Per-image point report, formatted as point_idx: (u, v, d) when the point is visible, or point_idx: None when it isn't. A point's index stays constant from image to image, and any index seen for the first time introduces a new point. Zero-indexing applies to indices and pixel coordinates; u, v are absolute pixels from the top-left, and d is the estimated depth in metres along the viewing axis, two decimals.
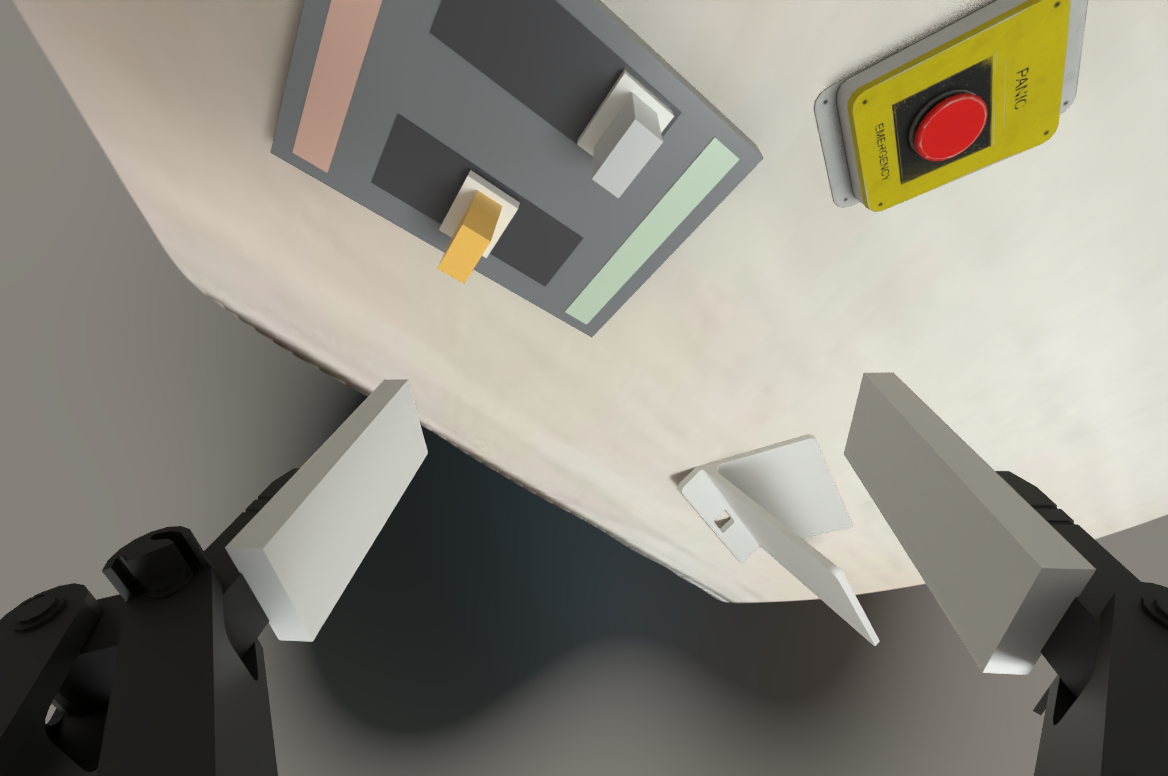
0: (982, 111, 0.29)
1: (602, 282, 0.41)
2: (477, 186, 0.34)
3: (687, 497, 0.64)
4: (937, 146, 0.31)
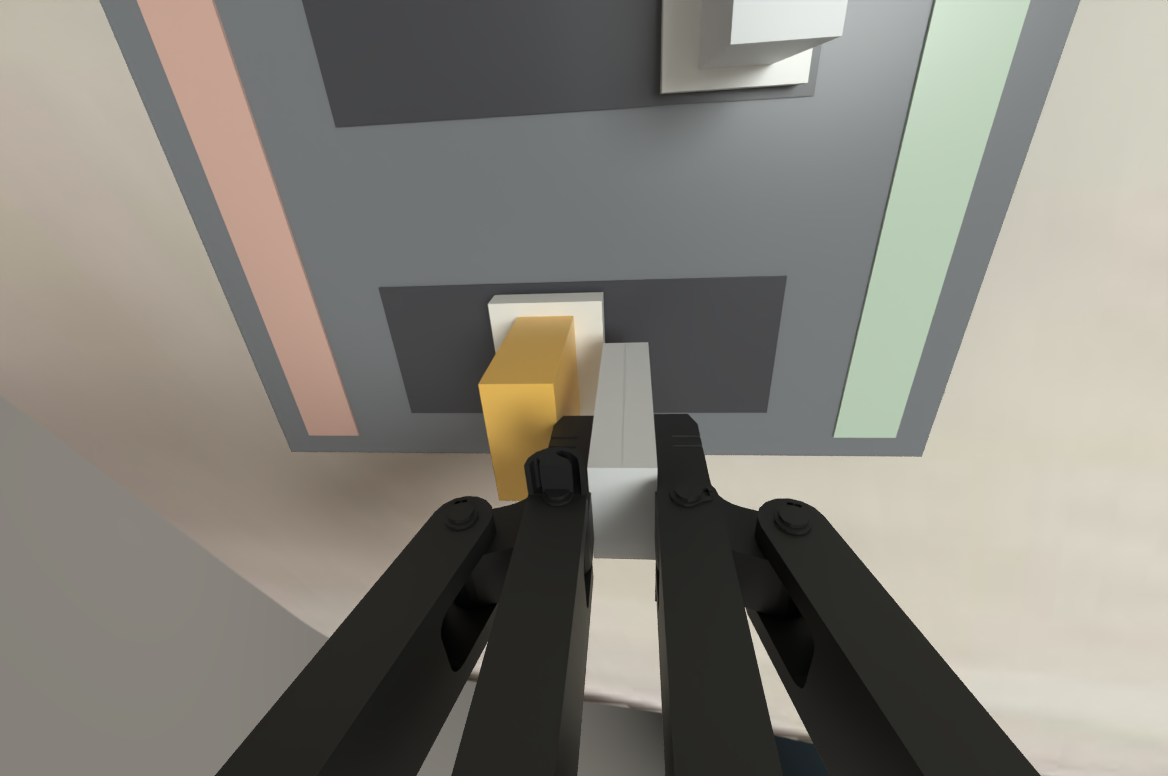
0: None
1: (881, 336, 0.18)
2: (513, 310, 0.17)
3: None
4: None
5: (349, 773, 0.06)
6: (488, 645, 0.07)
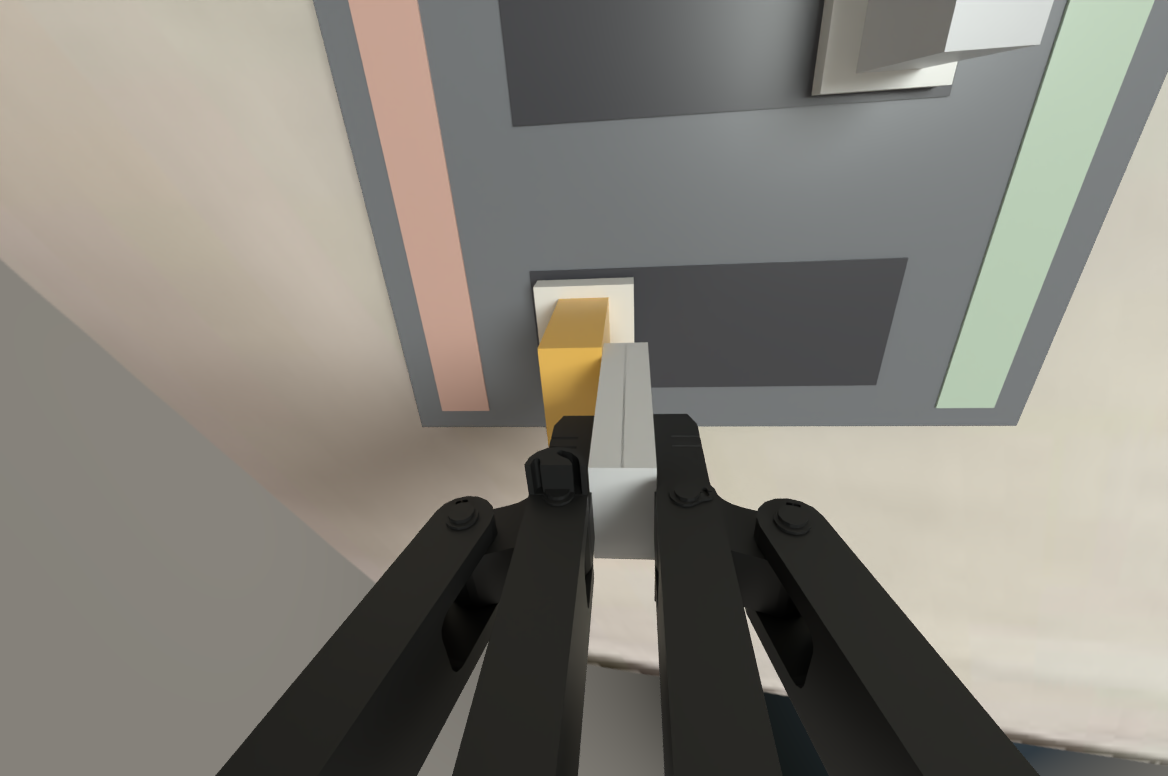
0: None
1: (989, 312, 0.20)
2: (555, 293, 0.19)
3: None
4: None
5: (349, 773, 0.06)
6: (489, 645, 0.07)
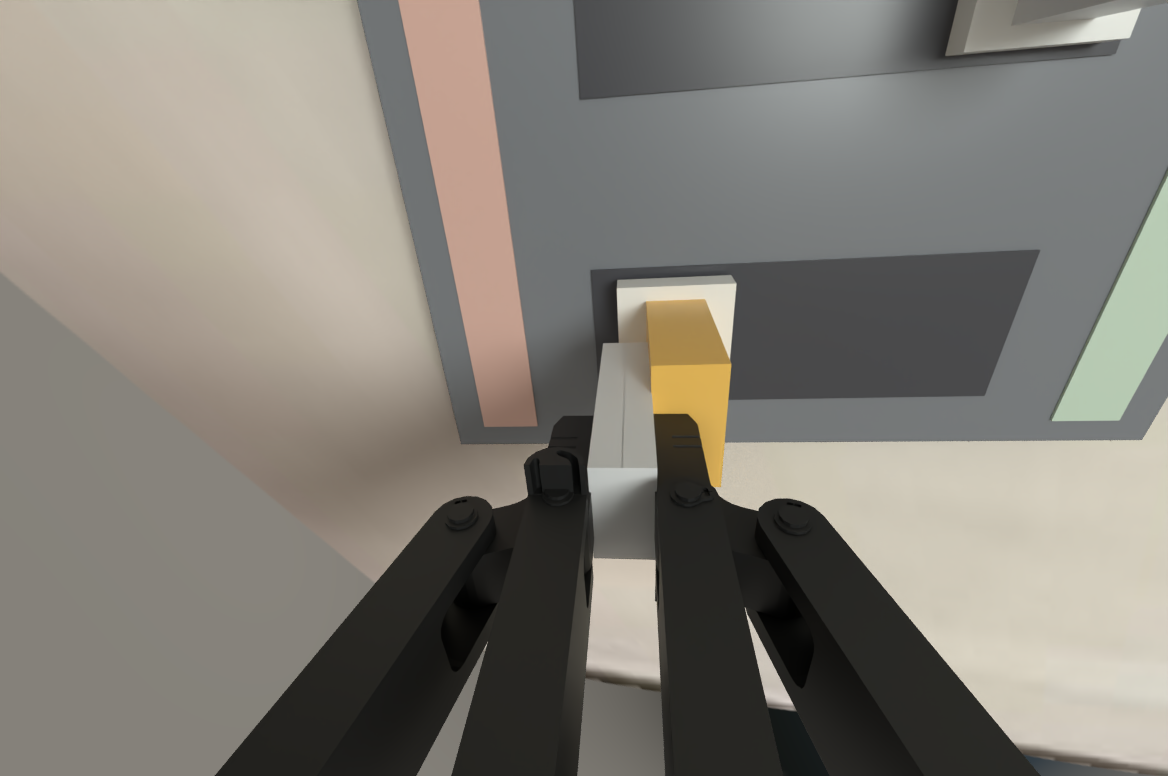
0: None
1: (1128, 313, 0.17)
2: (642, 295, 0.17)
3: None
4: None
5: (349, 773, 0.06)
6: (488, 645, 0.07)
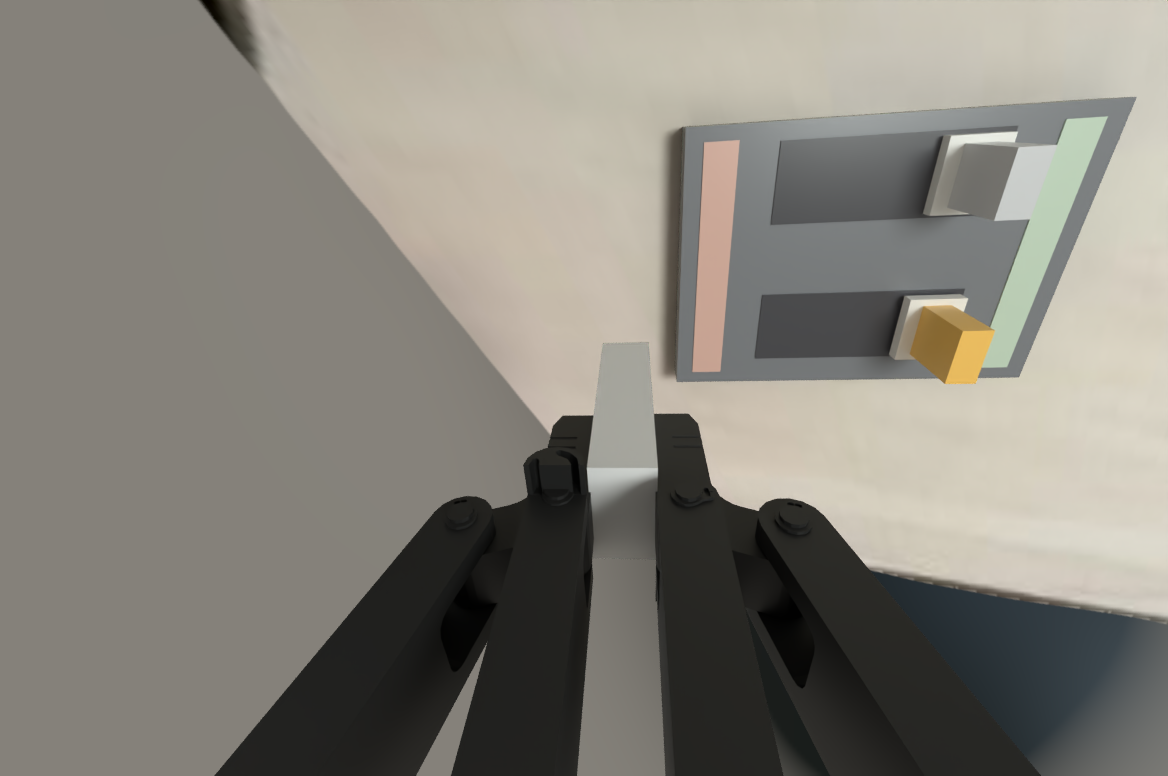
0: None
1: (1005, 316, 0.38)
2: (922, 303, 0.36)
3: None
4: None
5: (349, 773, 0.06)
6: (488, 645, 0.07)
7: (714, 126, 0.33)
